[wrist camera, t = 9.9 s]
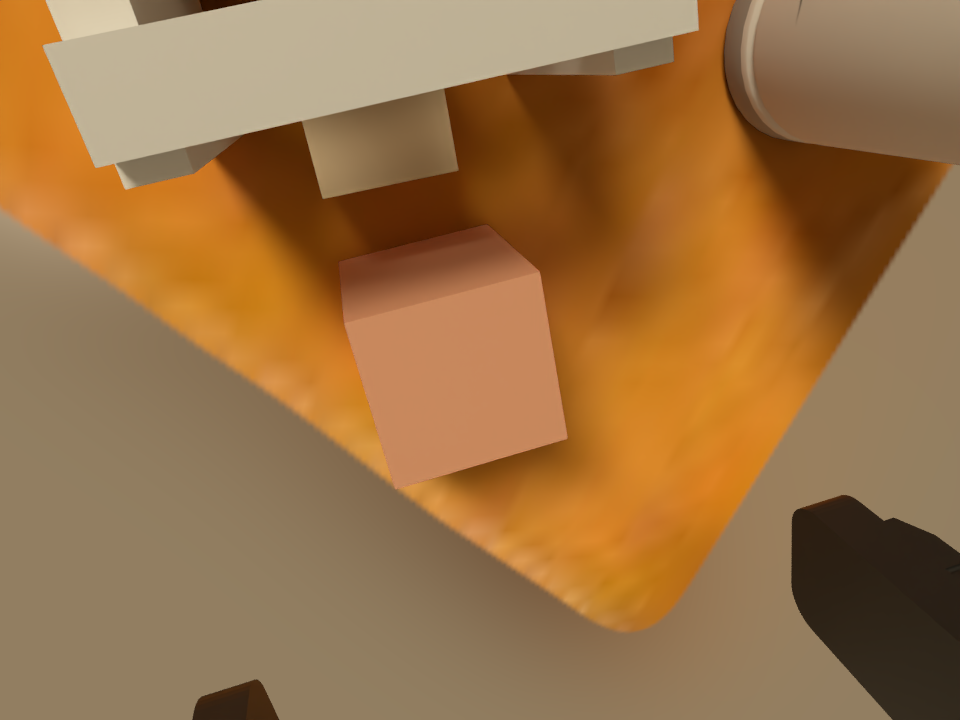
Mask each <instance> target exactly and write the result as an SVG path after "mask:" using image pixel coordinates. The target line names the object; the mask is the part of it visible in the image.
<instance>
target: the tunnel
mask: <svg viewBox="0 0 960 720" xmlns="http://www.w3.org/2000/svg"><path fill="white" fill-rule="evenodd" d="M46 3H47V5H48V7H49V10H50V12H51V14H52V17H53V19H54V22H55V24H56V26H57V29H58V31H59V33H60V36H61V38H62V41H61V42H56V43H51V44H46V45H42V46H43V48H44V51H45V53H46V55H47V57H48V60H49V62H50V64H51V67H52V69H53V71H54V73H55V76H56V78H57V80H58V83H59V85H60V87H61V90H62V92H63V94H64V96H65V99H66V101H67V103H68V106H69V108H70V110H71V113H72V115H73V117H74V119H75V122H76V124H77V126H78V129H79V131H80V133H81V136H82V138H83V140H84V142H85V145H86V147H87V149H88V152H89V154H90V156H91V159H92V161H93V163H94V165H95V168H98V167H102V166H106V165H111V164H115V166H116V168H117V171H118V173H119V176H120V178H121V180H122V183H123V185H124V187H125V189H129V188H134V187H138V186H142V185H147V184H151V183H155V182H159V181H164V180H168V179H172V178H177V177H181V176H185V175H190V174H194V173H195V172H197V171H198V170H199V169H200V168H202V167H203V166H204V165H206V164H207V163H208V162H209V161H211V160H212V159H213V158H215V157H216V156H217V155H218V154H220V153H221V152H222V151H224V150H225V149H226V148H227V147H229V146H230V145H231V144H233V143H234V142H235V141H236V140H238V139H239V138H240V137H242V136H243V135H244V134H247V133H251V132H255V131H260V130H264V129H268V128H273V127H277V126H282V125H286V124H290V123H295V122H299V121H303V120H308V119H312V118H317V117H321V116H325V115H330V114H334V113H338V112H343V111H347V110H352V109H356V108H360V107H365V106H369V105H373V104H378V103H382V102H387V101H391V100H395V99H400V98H404V97H409V96H413V95H417V94H422V93H426V92H430V91H435V90H439V89H444V88H448V87H452V86H457V85H461V84H465V83H470V82H474V81H479V80H483V79H487V78H492V77H496V76H500V75H505V74H506V75H619V74H623V73H627V72H631V71H636V70H640V69H644V68H649V67H653V66H657V65H662V64H666V63H670V62H674V53H673V39H672V36H676V35H680V34H684V33H689V32H693V31H697V30H699V27H698V8H697V0H259V1H254V2H249V3H245V4H240V5H235V6H230V7H225V8H220V9H216V10H211V11H206V12H203V10H202V7H201V4H200V1H199V0H46Z"/></svg>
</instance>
